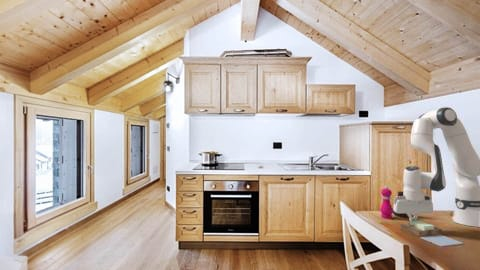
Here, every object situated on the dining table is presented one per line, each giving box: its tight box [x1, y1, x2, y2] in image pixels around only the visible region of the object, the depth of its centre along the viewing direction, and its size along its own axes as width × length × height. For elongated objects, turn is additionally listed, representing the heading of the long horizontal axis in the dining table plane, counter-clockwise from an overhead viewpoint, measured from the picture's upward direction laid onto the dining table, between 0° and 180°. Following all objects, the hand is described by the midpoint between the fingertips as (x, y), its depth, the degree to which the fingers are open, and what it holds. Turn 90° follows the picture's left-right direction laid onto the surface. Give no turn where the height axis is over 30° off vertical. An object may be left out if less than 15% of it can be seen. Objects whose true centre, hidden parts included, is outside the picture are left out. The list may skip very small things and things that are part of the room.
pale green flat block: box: [409, 220, 435, 230], centre depth 145 cm, size 6×9×2 cm, turn 11°
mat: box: [419, 234, 465, 247], centre depth 134 cm, size 13×12×1 cm
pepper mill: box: [379, 185, 393, 220], centre depth 173 cm, size 7×7×20 cm
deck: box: [400, 222, 443, 238], centre depth 146 cm, size 14×12×3 cm
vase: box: [391, 190, 409, 218], centre depth 176 cm, size 11×11×15 cm
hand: (413, 220), depth 150 cm, fingers closed
